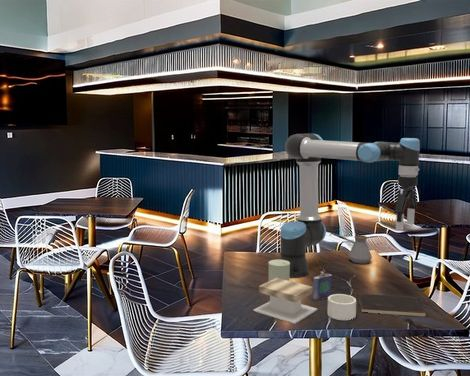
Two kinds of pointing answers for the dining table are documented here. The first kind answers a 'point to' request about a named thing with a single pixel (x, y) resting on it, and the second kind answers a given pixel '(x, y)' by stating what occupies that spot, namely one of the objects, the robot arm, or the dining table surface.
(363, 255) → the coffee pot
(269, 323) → the dining table surface
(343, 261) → the dining table surface
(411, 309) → the hardcover book
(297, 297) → the wavy beige panel
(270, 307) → the stand
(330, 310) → the bowl
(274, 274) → the can
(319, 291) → the flask
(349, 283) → the dining table surface
